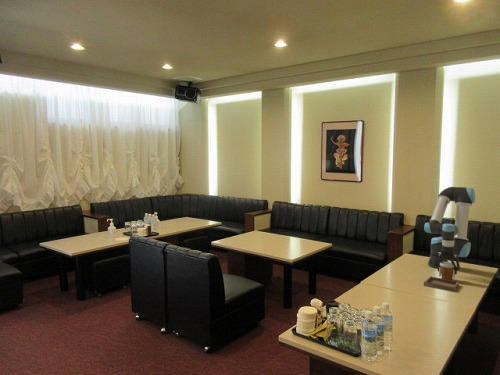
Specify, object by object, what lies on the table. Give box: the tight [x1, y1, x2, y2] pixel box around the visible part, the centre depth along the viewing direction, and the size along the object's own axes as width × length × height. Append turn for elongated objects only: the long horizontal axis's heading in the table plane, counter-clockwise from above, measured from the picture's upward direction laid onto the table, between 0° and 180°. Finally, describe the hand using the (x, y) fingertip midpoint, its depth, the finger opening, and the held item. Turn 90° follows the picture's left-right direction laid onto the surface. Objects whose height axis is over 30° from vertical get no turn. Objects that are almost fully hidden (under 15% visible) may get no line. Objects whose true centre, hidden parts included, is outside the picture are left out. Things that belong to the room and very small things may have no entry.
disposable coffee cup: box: [440, 261, 454, 281], centre depth 252 cm, size 10×10×12 cm
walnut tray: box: [423, 276, 460, 293], centre depth 240 cm, size 16×18×2 cm
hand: (446, 277), depth 252 cm, fingers closed on disposable coffee cup, 8 cm apart
